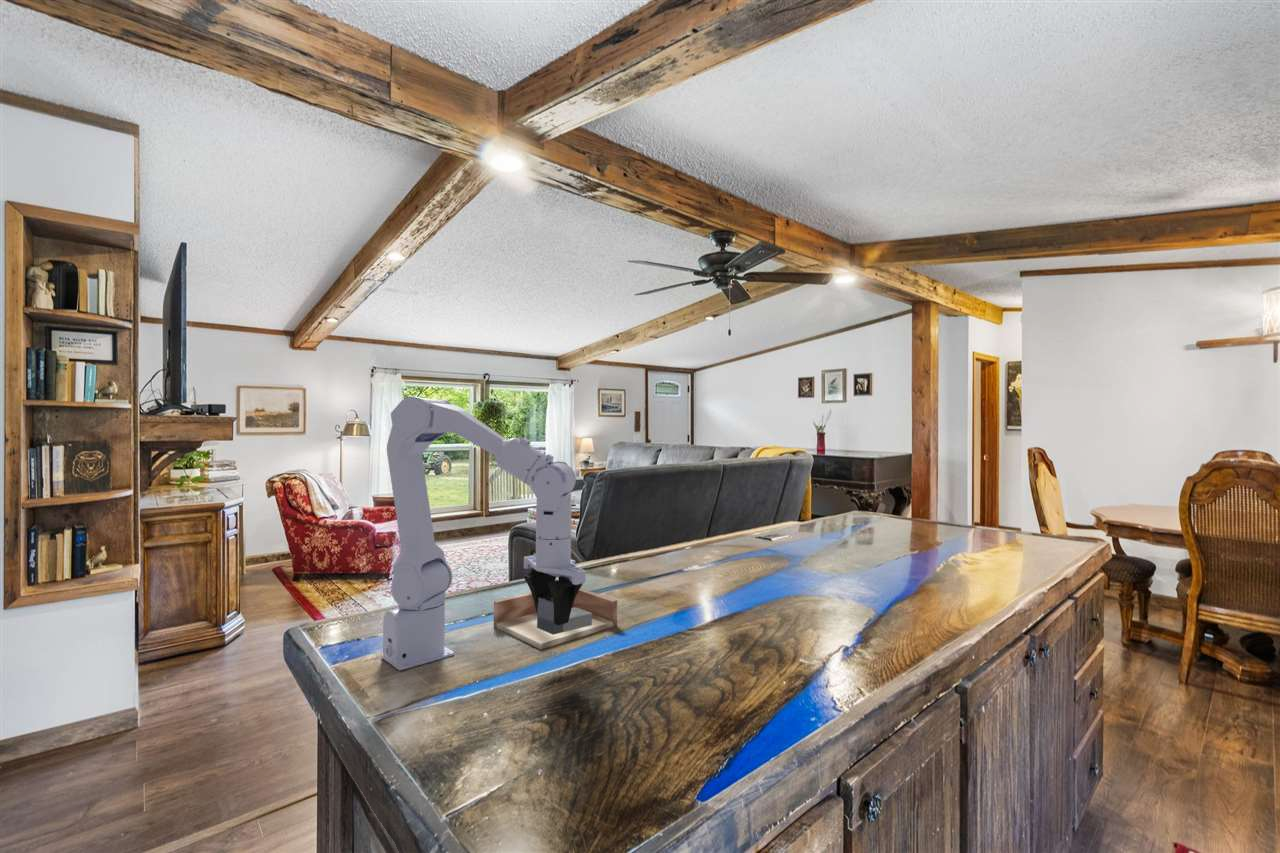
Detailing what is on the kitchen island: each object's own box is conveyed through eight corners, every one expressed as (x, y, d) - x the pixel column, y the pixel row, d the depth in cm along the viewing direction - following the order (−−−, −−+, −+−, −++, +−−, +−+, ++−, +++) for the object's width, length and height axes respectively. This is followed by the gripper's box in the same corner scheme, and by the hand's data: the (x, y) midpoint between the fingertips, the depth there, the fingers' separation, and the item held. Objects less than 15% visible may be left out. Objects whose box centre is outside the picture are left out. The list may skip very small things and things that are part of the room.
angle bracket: (553, 634, 92) (554, 602, 92) (536, 627, 95) (538, 597, 96) (591, 625, 98) (592, 595, 98) (575, 618, 101) (576, 589, 101)
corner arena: (540, 649, 102) (541, 621, 102) (493, 626, 113) (493, 601, 113) (617, 625, 114) (617, 600, 114) (567, 607, 126) (567, 584, 126)
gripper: (600, 539, 92) (600, 624, 92) (547, 527, 103) (547, 604, 103) (565, 545, 88) (564, 635, 87) (513, 532, 98) (512, 612, 98)
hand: (552, 619), depth 95 cm, fingers closed on angle bracket, 4 cm apart
